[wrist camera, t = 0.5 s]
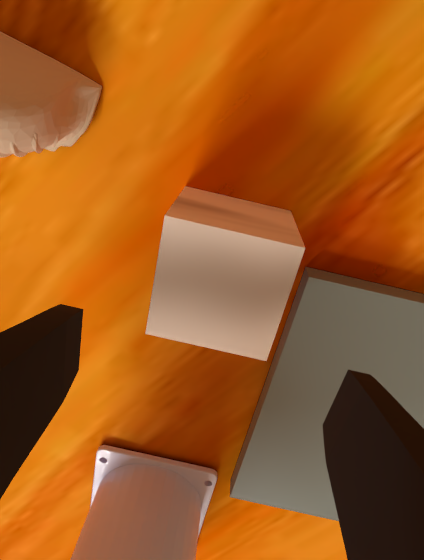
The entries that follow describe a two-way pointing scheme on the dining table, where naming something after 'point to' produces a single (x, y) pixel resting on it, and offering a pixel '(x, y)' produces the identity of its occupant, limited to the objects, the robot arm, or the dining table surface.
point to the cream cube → (224, 273)
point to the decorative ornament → (41, 100)
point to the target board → (326, 384)
